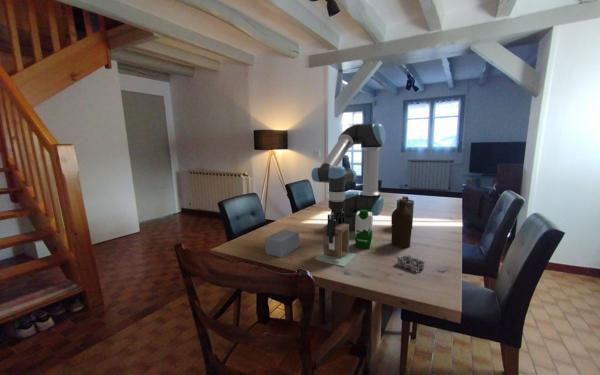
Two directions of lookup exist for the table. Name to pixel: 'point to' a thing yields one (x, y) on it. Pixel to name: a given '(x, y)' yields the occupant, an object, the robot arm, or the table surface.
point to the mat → (337, 259)
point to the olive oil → (401, 225)
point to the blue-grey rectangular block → (282, 242)
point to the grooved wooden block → (337, 241)
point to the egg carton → (413, 262)
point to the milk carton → (363, 229)
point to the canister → (407, 204)
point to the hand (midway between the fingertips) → (336, 245)
